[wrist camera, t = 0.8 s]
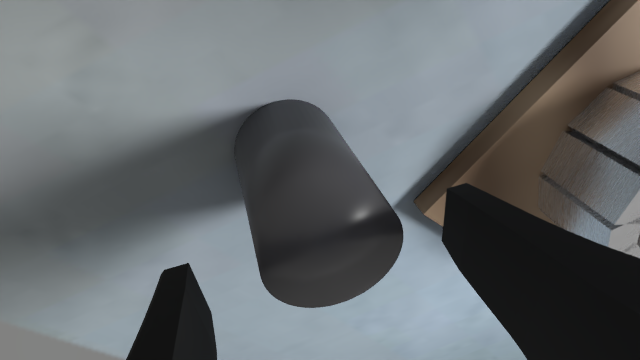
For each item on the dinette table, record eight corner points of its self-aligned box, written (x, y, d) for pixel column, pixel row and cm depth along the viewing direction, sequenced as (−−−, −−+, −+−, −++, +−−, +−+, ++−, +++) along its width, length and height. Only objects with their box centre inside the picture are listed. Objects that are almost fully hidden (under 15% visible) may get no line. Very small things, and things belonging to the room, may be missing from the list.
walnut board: (720, -112, 14) (751, -114, 14) (764, 95, 22) (786, 102, 21) (413, 201, 19) (423, 214, 18) (538, 283, 26) (549, 294, 26)
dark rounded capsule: (277, 78, 14) (328, 169, 9) (355, 134, 16) (430, 231, 11) (213, 163, 15) (228, 284, 10) (294, 204, 17) (338, 320, 12)
